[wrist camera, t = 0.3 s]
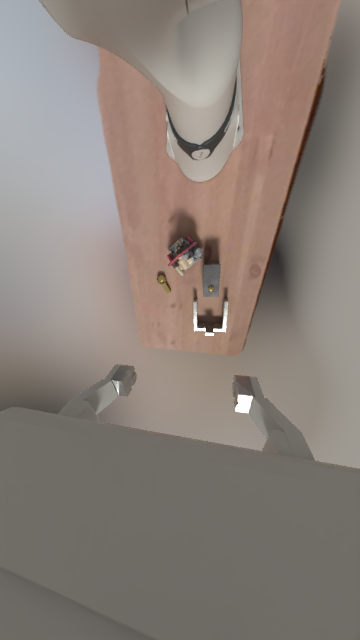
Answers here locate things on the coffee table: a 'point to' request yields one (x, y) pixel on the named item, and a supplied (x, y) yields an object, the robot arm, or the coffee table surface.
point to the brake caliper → (184, 254)
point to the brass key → (163, 283)
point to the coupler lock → (211, 279)
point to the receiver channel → (210, 327)
